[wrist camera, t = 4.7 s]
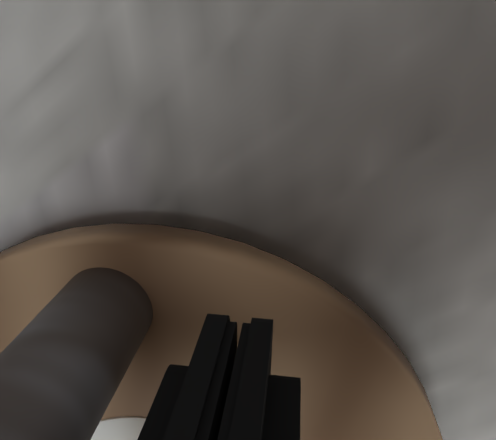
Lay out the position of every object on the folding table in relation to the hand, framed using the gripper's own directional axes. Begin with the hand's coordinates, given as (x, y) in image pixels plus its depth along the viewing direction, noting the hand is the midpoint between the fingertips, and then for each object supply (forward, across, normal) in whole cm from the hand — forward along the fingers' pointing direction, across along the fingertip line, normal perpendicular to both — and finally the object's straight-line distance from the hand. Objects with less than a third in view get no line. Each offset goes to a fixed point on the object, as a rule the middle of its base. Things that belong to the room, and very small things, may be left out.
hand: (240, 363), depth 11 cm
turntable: (+3, +3, +8) cm, 9 cm away
